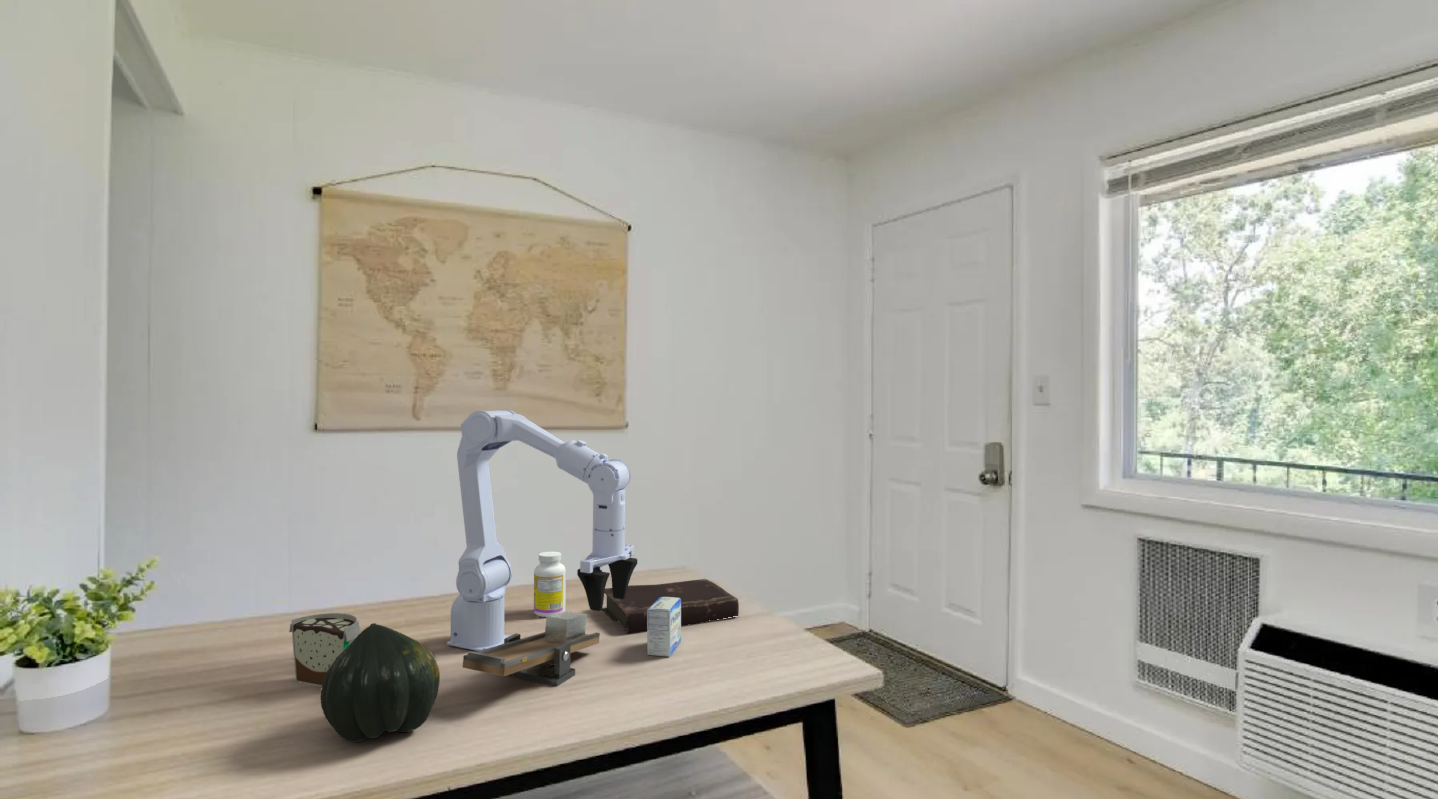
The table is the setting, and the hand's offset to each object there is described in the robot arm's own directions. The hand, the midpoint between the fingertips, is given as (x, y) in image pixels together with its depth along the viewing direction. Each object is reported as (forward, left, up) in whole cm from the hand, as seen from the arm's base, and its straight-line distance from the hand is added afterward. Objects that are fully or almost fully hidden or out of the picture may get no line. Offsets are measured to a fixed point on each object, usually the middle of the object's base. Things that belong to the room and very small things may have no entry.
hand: (607, 603), depth 125 cm
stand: (-7, -11, -10) cm, 16 cm away
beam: (-7, -11, -6) cm, 14 cm away
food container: (-36, -26, -10) cm, 46 cm away
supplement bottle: (-25, +17, -10) cm, 32 cm away
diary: (-2, +28, -11) cm, 30 cm away
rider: (-7, -3, -6) cm, 10 cm away
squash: (-15, -35, -10) cm, 40 cm away
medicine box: (+7, +9, -10) cm, 15 cm away
